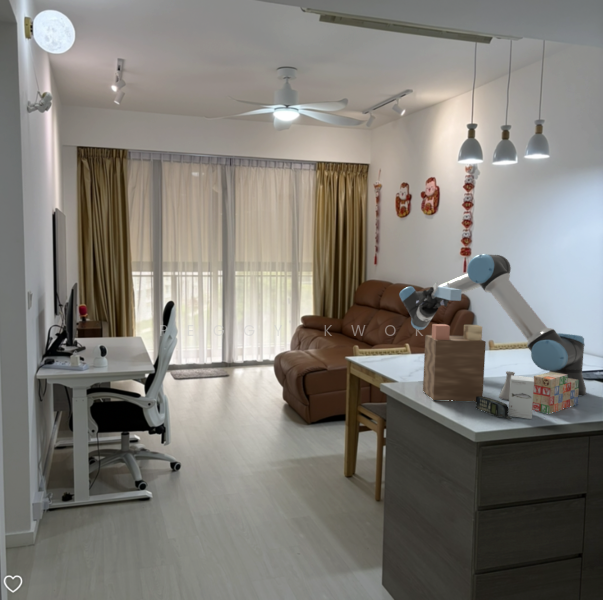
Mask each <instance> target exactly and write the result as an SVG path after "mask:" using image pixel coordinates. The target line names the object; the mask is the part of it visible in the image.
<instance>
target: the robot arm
mask: <svg viewBox="0 0 603 600" xmlns="http://www.w3.org/2000/svg"><path fill="white" fill-rule="evenodd" d="M511 269H512V266H511V263H510V262H509V260H508V259H507V258H506V257H504V256H502V255H500V254H487V253H482V254H481V253H480V254H477V255H475V256H474V257H473V258H471V260H470V261H469V262H468V263H467V271H466V272H467V273H464V274H462V275H460V276H458V277H455V278H453V279H451V280H449V281H446V282H444V283H443V282H442V283H441V284H438V283H439V282H438V281H435V283H434V284H433V286H432V287H429V288H428V289H427V290H425V289H424V290H422V291H416V289H415V288H414V287H413V286H409V285H408V286H407V287H405V288H403V289H402V290H400V292H399V298H400V300H401V302H402V303H403V306H404V307H405V309H406V311H407V312H408V314H409V316H410V318H411V321H410V323H411V326H412V328H414V329H415V330H418V331H421V330H425V328H427V327H428V326H429V324H430V322H431V321H432V319H433V318H434V316H435V315H436V314H437V312H438V310H439V308H441V306H444V307H448V303H449V302H450V300H447V299H443V298H439V297H435V296H433V295H434V294H435V293H436V291H437V289H438V286H443V287H449V288H454V289H460V290H461V295H463V294H464V293H467V292H470V291H472V290H475V289H477V288H480V287H481V289H482V290H483V291H484V292H485V293H490V294H491V295H492V296H493V297H494V299H495V300H496V301H497V302H498V304H499V306H500V307H501V308H502V309H503V311H504V312H505V313H506V314H507V316H508V317H509V318H510V319H511V320H512V322H513V324H514V325H515V326H516V327H517V328H518V330H519V331H520V333H522V335H523V336H524V337H525V339H526V340H527V344H526V347H527V348H528V350H529V352H530V357H531V359H532V362H533V363H534V364H535V366H537V367H538V368H539V369H541V370H543V371H547V372H555V373H561V374H567V375H568V378H571V379H576V380H579V384H578V389H579V390H578V395H582V396H585V395H586V394H587V386H586V384H585V383H586V382H585V380H584V379H585V378H584V377H583V366H584V365H583V364H584V351H585V347H586V346H585V338H584V337H583V335H577V334H570V333H561V332H557V331H556V330H555V329H554V328H549V327H547V326H546V324H545V323H544V322H543V320H542V319H541V318H540V317H539V315H538V314H537V313H536V312H535V311H534V309H533V308H532V307H531V305H530V304H529V303H528V302H527V300H526V299H525V298H524V297H523V296H522V294H521V293H520V292H519V291H518V289H517V288H516V287H515V285H514V284H513V283H512V282H511V281H510V277H511Z"/></svg>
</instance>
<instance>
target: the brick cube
mask: <svg viewBox="0 0 603 600" xmlns="http://www.w3.org/2000/svg"><path fill="white" fill-rule="evenodd" d="M431 326H432V327H431V335H432V338H434V339H436V340H449V335H450V336H451V333H450V330H451V326H450V325H448V324H445V323H439V324H437V323H432V325H431Z"/></svg>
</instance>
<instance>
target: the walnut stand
mask: <svg viewBox="0 0 603 600" xmlns="http://www.w3.org/2000/svg"><path fill="white" fill-rule="evenodd" d="M423 361H424V362H423V378H422V392H423V391H424V392H425V393H426V394H427V395H428V396H429V397H431V398H432V399H433V400H449V401H448V402H452V401H451V400H453V401H475V402H474V403H476V397H477V396H483V397H484V382H485V381H484V379H485V361H486V341H485V340H466V339H464V338H463V335H451V334H450V335H449V340H436V339H434V338H432V334H425V337H424V360H423ZM424 392H423V393H424ZM425 393H424V394H425ZM426 394H425V395H426ZM427 395H426V396H427ZM428 396H427V397H428ZM429 397H428V398H429Z"/></svg>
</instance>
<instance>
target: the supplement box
mask: <svg viewBox="0 0 603 600" xmlns="http://www.w3.org/2000/svg"><path fill="white" fill-rule="evenodd" d="M533 391H534V377H532V376H531V377H530V376H522V375H521V376H520V375H514V376H513V375H511V380H510V394H509V400H508V416H509V417H514V418H521V419H522V418H523V419H528V420H532V419H533V410H532V405H533Z"/></svg>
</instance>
